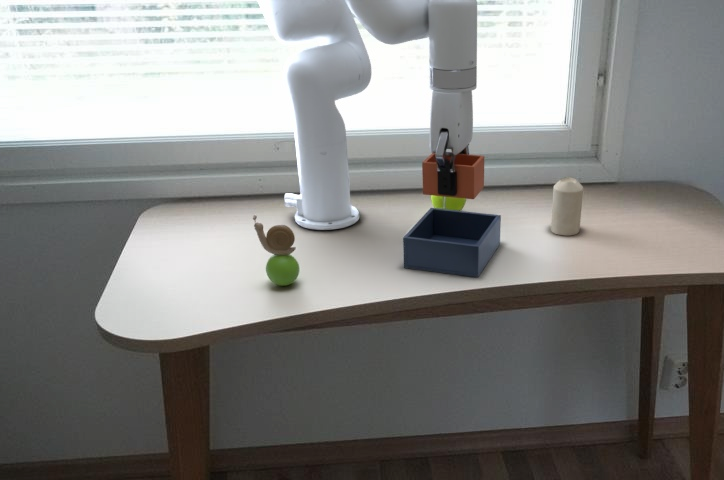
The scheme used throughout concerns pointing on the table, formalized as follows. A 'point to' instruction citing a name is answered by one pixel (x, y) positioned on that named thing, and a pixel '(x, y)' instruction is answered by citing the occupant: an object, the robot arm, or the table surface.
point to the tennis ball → (448, 202)
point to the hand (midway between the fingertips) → (453, 187)
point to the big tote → (452, 242)
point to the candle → (566, 207)
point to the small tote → (467, 175)
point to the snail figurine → (279, 253)
